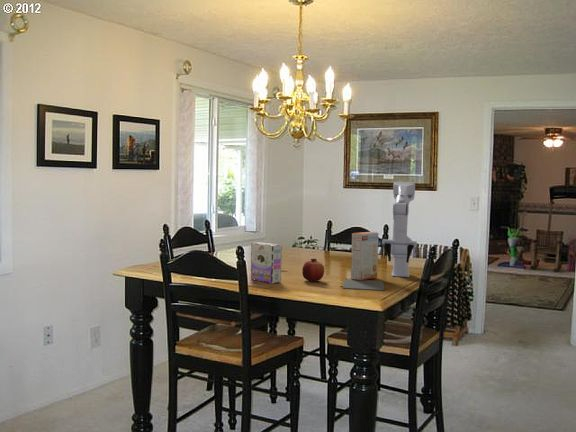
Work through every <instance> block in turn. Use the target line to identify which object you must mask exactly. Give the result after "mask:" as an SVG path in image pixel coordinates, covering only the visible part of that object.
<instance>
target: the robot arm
mask: <svg viewBox="0 0 576 432" xmlns="http://www.w3.org/2000/svg"><path fill="white" fill-rule="evenodd" d="M392 187H393V189H392V190H393V192H392V194H393V198H394V203H393V205H392V217H393V218H392V220H393V224H392V226H393V227H392V239H385V238H384V239H382V240H381V241H382V242H381V245H384V249H385V251H386V255H387V258H388V262H391V261H393V262H392V271H391V277H402V278H410V273H409V271H410V270H409V269H410V268H409V266H410V257H413V250H414V248H415V247H417V246H418V245H417V244H418V241H417V240H416V241H414V240H412V238H411V237H409V236H408V221H409V219H408V218H409V217H408V216H409V209H410V206H409V205H410V202H412V201H414V200H415V193H416V183H415V182H414V181H413V182H412V181H411V182H408V181H395V182H393V186H392ZM392 257H393V260H392Z"/></svg>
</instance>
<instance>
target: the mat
mask: <svg viewBox="0 0 576 432" xmlns="http://www.w3.org/2000/svg"><path fill="white" fill-rule="evenodd" d="M384 286H385V284H384V281H383V280H372V279H367V280H362V281H360V280H352V279H351V278H348V279H346V278H345V279H344V280H343V284H342V289H343V290H344V289H345V290H359V291H360V290H361V291H362V290H365V291H380V292H382V291H383V292H384V291H385V287H384Z"/></svg>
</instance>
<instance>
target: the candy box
mask: <svg viewBox="0 0 576 432" xmlns="http://www.w3.org/2000/svg"><path fill="white" fill-rule="evenodd" d="M282 250H283V245H282V244H276V243H269V242H264V241H263V242H262V241H258V242H257V241H256V242H251V250H250V251H251V252H250V253H251V254H250V255H251V256H250V257H251V259H250V261H251V262H250V280H251V279H255V280H254V281H256V280H258V281H257V282H260V281H262V282H261V283H265V282H266V283H267V284H270V285H272V284H281V283H282V253H283V251H282Z"/></svg>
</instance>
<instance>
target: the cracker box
mask: <svg viewBox="0 0 576 432" xmlns="http://www.w3.org/2000/svg"><path fill="white" fill-rule="evenodd" d="M378 257H379V232H374V231H366V232H365V231H364V232H363V231H362V232H361V231H360V232H353V233H352V232H351V262H350V263H351V267H350V268H351V269H350V279H351V280H360V281H362V280H373V279H377V278H378V266H379V265H378V264H379V263H378V262H379V261H378V260H379V259H378Z"/></svg>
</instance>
